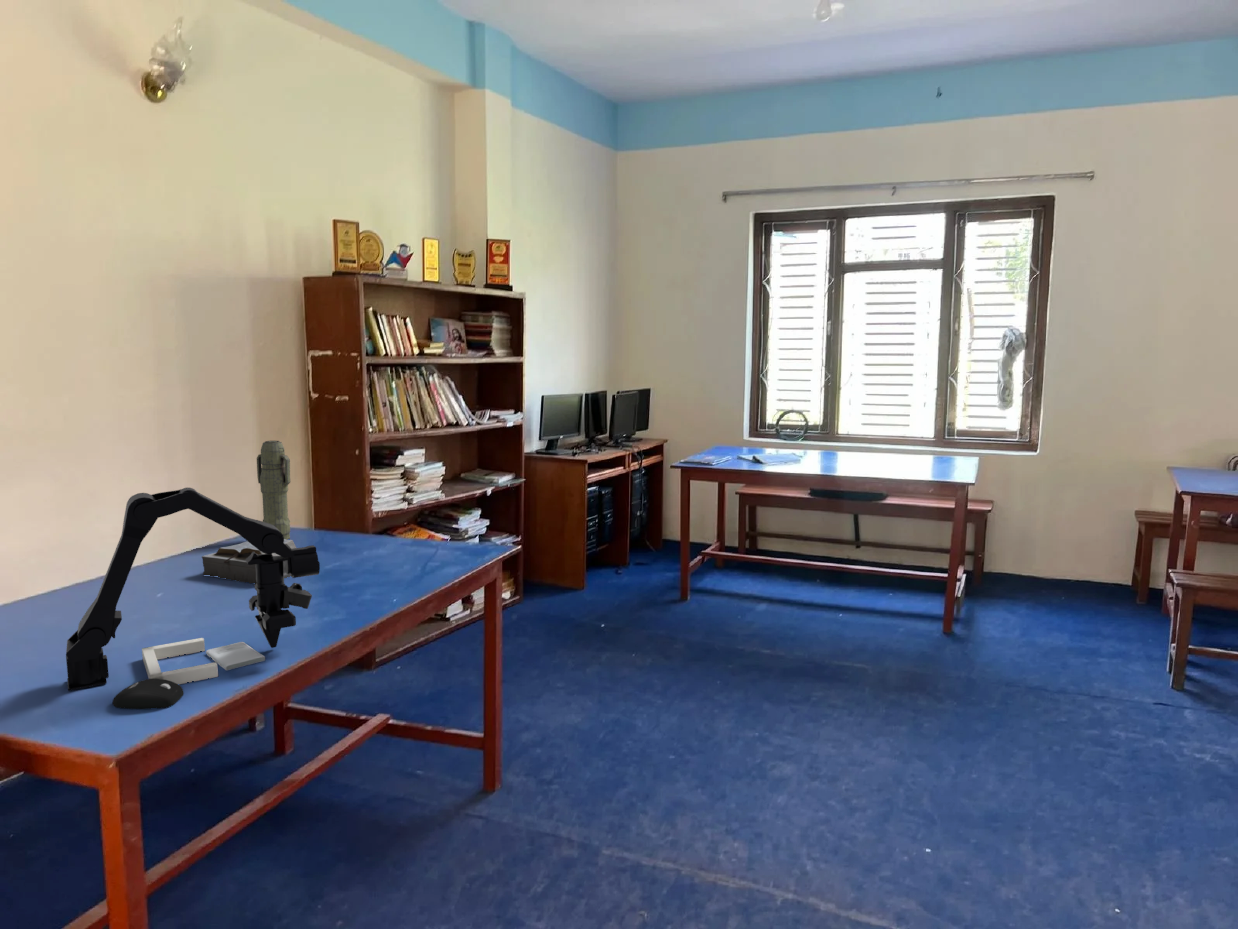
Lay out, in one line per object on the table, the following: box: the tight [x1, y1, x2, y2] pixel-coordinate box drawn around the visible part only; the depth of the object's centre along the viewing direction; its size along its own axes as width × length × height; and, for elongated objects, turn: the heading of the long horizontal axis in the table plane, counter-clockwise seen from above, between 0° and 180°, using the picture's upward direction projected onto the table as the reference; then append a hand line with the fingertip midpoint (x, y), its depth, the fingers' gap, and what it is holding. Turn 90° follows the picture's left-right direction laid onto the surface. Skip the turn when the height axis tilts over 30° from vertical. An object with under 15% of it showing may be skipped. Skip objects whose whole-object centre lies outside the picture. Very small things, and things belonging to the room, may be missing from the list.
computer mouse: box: [112, 678, 184, 710], centre depth 156 cm, size 8×12×4 cm, turn 95°
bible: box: [201, 539, 297, 585], centre depth 243 cm, size 23×27×10 cm
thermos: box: [256, 440, 291, 540], centre depth 282 cm, size 9×12×35 cm
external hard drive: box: [205, 641, 266, 671], centre depth 179 cm, size 2×8×12 cm
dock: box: [141, 637, 219, 685], centre depth 172 cm, size 12×19×2 cm, turn 35°
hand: (273, 647), depth 183 cm, fingers closed
